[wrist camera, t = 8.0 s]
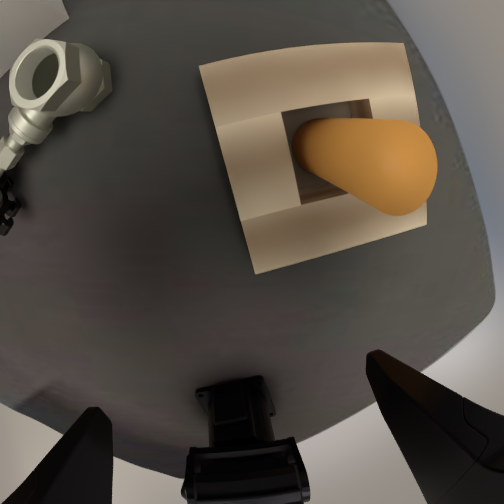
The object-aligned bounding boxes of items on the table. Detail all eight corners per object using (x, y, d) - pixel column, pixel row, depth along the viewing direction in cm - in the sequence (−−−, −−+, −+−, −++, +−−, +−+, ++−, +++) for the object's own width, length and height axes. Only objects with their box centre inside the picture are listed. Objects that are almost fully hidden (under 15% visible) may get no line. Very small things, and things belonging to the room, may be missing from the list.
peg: (349, 167, 19) (439, 204, 10) (299, 179, 19) (366, 226, 10) (339, 114, 17) (431, 116, 9) (286, 124, 17) (352, 126, 9)
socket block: (403, 211, 21) (426, 224, 18) (249, 253, 20) (255, 274, 18) (379, 50, 16) (403, 43, 13) (201, 75, 15) (198, 66, 13)
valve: (87, 32, 13) (-15, 158, 15) (38, 3, 7) (-72, 178, 9) (142, 96, 16) (29, 218, 17) (106, 84, 10) (-22, 257, 11)
